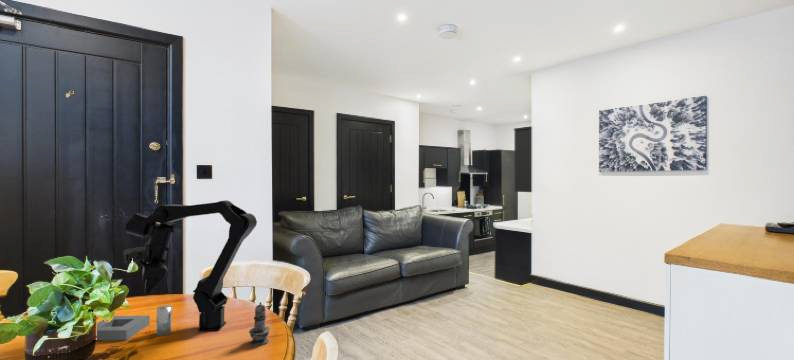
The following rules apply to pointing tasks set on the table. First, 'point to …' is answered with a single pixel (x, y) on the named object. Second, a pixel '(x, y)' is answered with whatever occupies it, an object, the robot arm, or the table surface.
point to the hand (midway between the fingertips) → (145, 287)
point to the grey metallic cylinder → (164, 320)
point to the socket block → (121, 327)
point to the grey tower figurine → (259, 327)
